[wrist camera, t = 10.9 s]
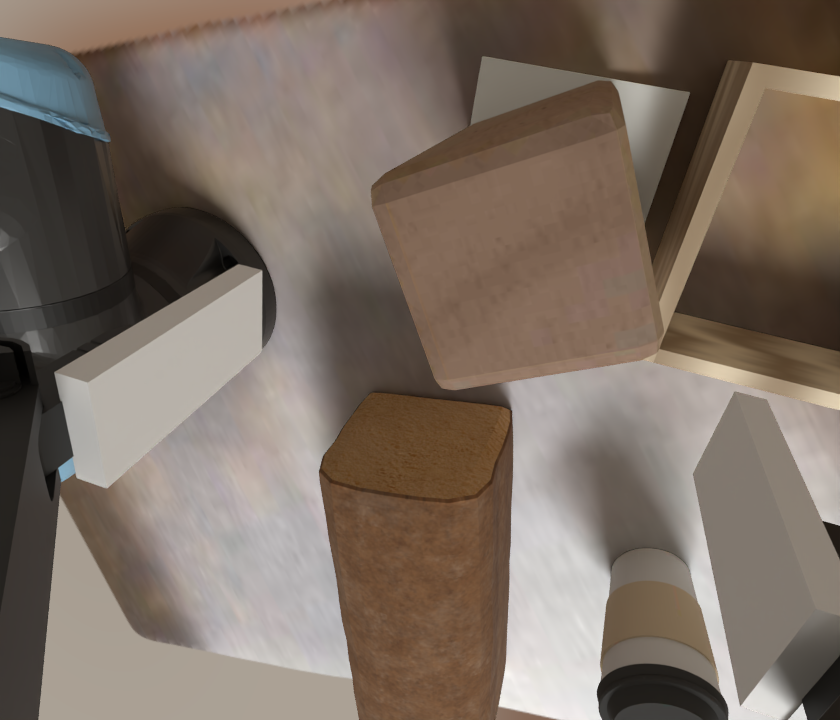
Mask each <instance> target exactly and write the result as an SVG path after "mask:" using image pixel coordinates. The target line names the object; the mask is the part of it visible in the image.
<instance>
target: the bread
mask: <svg viewBox="0 0 840 720" xmlns="http://www.w3.org/2000/svg"><path fill="white" fill-rule="evenodd" d="M319 476H320V485H321V491H322V497H323V503H324V509H325V514H326V521H327V528H328V535H329V541H330V546H331V552H332V557H333V562H334V567H335V573H336V578H337V586H338V594H339V602H340V609H341V616H342V622H343V626H344V630H345V635H346V639H347V646H348V655H349V661H350V667H351V672H352V677H353V685H354V694H355V700H356V705H357V710H358V716H359V720H495V719H496V715H497V710H498V705H499V699H500V694H501V688H502V682H503V677H504V671H505V663H506V644H507V620H508V600H509V558H510V544H511V499H512V481H513V424H512V411H511V410H509V409H506V408H504V407H501V406H493V405H486V404H477V403H468V402H459V401H449V400H440V399H430V398H422V397H414V396H406V395H396V394H386V393H375V392H374V393H370V394H369V395H368V396H367V397H366V398H365V399H364V400H363V402H362V403H361V404H360V405H359V406H358V408H357V409H356V410H355V412H354V413H353V414H352V416H351V417H350V419H349V420H348V421H347V423H346V424H345V425H344V427H343V428H342V430H341V432H340V434H339V435H338V437H337V439H336V441H335V442H334V443H333V444H332V446H331V447H330V448H329V449H328V451H327V452H326V453H325V454H324V456H323V458H322V462H321V466H320V470H319Z"/></svg>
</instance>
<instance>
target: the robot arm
mask: <svg viewBox="0 0 840 720" xmlns="http://www.w3.org/2000/svg"><path fill="white" fill-rule="evenodd" d="M108 142H111V139H110V135H109V133H108V132H106V131H105V127H104V123H103V119H102V116H101V112H100V108H99V105H98V101H97V97H96V92H95V88H94V84H93V81H92V78H91V76H90V74H89V72H88V70H87V69H86V67H85V66H84V65H83V64H82V63H81V62H80V61H79V60H78V59H77V58H76V57H75V56H73V55H72V54H71V53H69V52H67V51H65V50H63V49H61V48H58V47H55V46H50V45H45V44H39V43H34V42H27V41H21V40H15V39H9V38H2V37H0V720H38V716H39V706H40V696H41V685H42V675H43V664H44V654H45V653H44V652H45V643H46V632H47V622H48V611H49V601H50V591H51V580H52V570H53V569H52V568H53V559H54V548H55V538H56V528H57V517H58V506H59V496H60V486H61V482H62V481H64V480H66V479H67V478H69V477H70V476H72V475H73V474H74V473H76V476H77V478H78V479H81V480H84V481H87V482H90V483H93V484H95V485H98V486H101V487H104V488H108V487H109V486H110V485H111V484H113V483H114V482H115V481H116V480H117V479H118V478H119V477H121V476H122V475H123V474H124V473H125V472H126V471H127V470H128V469H130V468H131V467H132V466H133V465H134V464H135V463H136V462H138V461H139V460H140V459H141V458H142V457H143V456H144V455H145V454H147V453H148V452H149V451H150V450H151V449H152V448H153V447H155V446H156V445H157V444H158V443H159V442H160V441H161V440H163V439H164V438H165V437H166V436H167V435H168V434H169V433H170V432H172V431H173V430H174V429H175V428H176V427H177V426H178V425H180V424H181V423H182V422H183V421H184V420H185V419H186V418H188V417H189V416H190V415H191V414H192V413H193V412H194V411H195V410H197V409H198V408H199V407H200V406H201V405H202V404H203V403H205V402H206V401H207V400H208V399H209V398H210V397H211V396H212V395H214V394H215V393H216V392H217V391H218V390H219V389H220V388H222V387H223V386H224V385H225V384H226V383H227V382H228V381H230V380H231V379H232V378H233V377H234V376H235V375H236V374H237V373H239V372H240V371H241V370H242V369H243V368H244V367H245V366H247V365H248V364H249V363H250V362H251V361H252V360H253V359H254V358H256V357H257V356H258V355H259V354H260V353H261V352H262V349H263V348H264V346H265V345H266V344H267V342H268V341H269V339H270V337H271V335H272V332H273V329H274V325H275V320H276V299H275V293H274V289H273V285H272V282H271V279H270V276H269V274H268V272H267V269H266V267H265V266H264V264H263V262H262V260H261V259H260V257H259V255H258V254H257V253H256V251H255V250H254V248H253V247H252V246H251V245H250V244H249V242H248V241H247V240H246V239H245V238H244V237H243V236H242V235H241V234H240V233H239V232H238V231H236V230H235V229H234V228H233V227H231V226H230V225H229V224H227V223H226V222H224V221H223V220H221V219H219V218H217V217H215V216H213V215H211V214H209V213H206V212H204V211H200V210H197V209H192V208H182V207H178V208H169V209H165V210H162V211H159V212H156V213H154V214H151V215H148V216H145V217H143V218H141V219H139V220H138V221H136V222H135V223H133V224H132V225H131V226H129V227H128V228H127V229H126V231H125V228H124V223H123V218H122V213H121V208H120V203H119V198H118V193H117V187H116V182H115V176H114V171H113V165H112V160H111V154H110V149H109V143H108ZM693 476H694V481H695V486H696V491H697V496H698V501H699V506H700V511H701V516H702V521H703V526H704V531H705V536H706V540H707V545H708V550H709V555H710V560H711V565H712V570H713V575H714V580H715V585H716V590H717V595H718V600H719V604H720V609H721V614H722V619H723V624H724V629H725V634H726V639H727V644H728V649H729V654H730V659H731V664H732V668H733V673H734V678H735V683H736V688H737V693H738V698H739V703H740V707H743V708H746V709H749V710H752V711H755V712H758V713H761V714H764V715H766V716H769V717H772V718H775V719H778V720H788V719H789V718H790V717H791V715H792V714H793V713H794V712H795V711H796V710H797V709H798V707H799V706H800V705H801V704H802V703H803V706H804V710H805V713H806V716H807V720H840V526H838V525H835V524H831V523H828V522H824V521H822V519H821V517H820V515H819V513H818V511H817V509H816V506H815V504H814V502H813V500H812V498H811V495H810V493H809V491H808V489H807V487H806V484H805V482H804V480H803V478H802V476H801V473H800V471H799V469H798V467H797V465H796V462H795V460H794V458H793V456H792V454H791V452H790V449H789V447H788V445H787V443H786V441H785V438H784V436H783V434H782V432H781V430H780V427H779V425H778V423H777V421H776V419H775V416H774V414H773V412H772V410H771V408H770V405H769V403H768V401H767V400H766V399H762V398H758V397H754V396H751V395H747V394H743V393H739V392H734V394H733V396H732V398H731V400H730V402H729V404H728V406H727V408H726V410H725V412H724V414H723V416H722V418H721V420H720V422H719V424H718V425H717V427H716V429H715V431H714V433H713V435H712V437H711V439H710V441H709V443H708V445H707V447H706V449H705V451H704V453H703V455H702V457H701V459H700V461H699V463H698V465H697V467H696V469H695V471H694V473H693Z"/></svg>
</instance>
